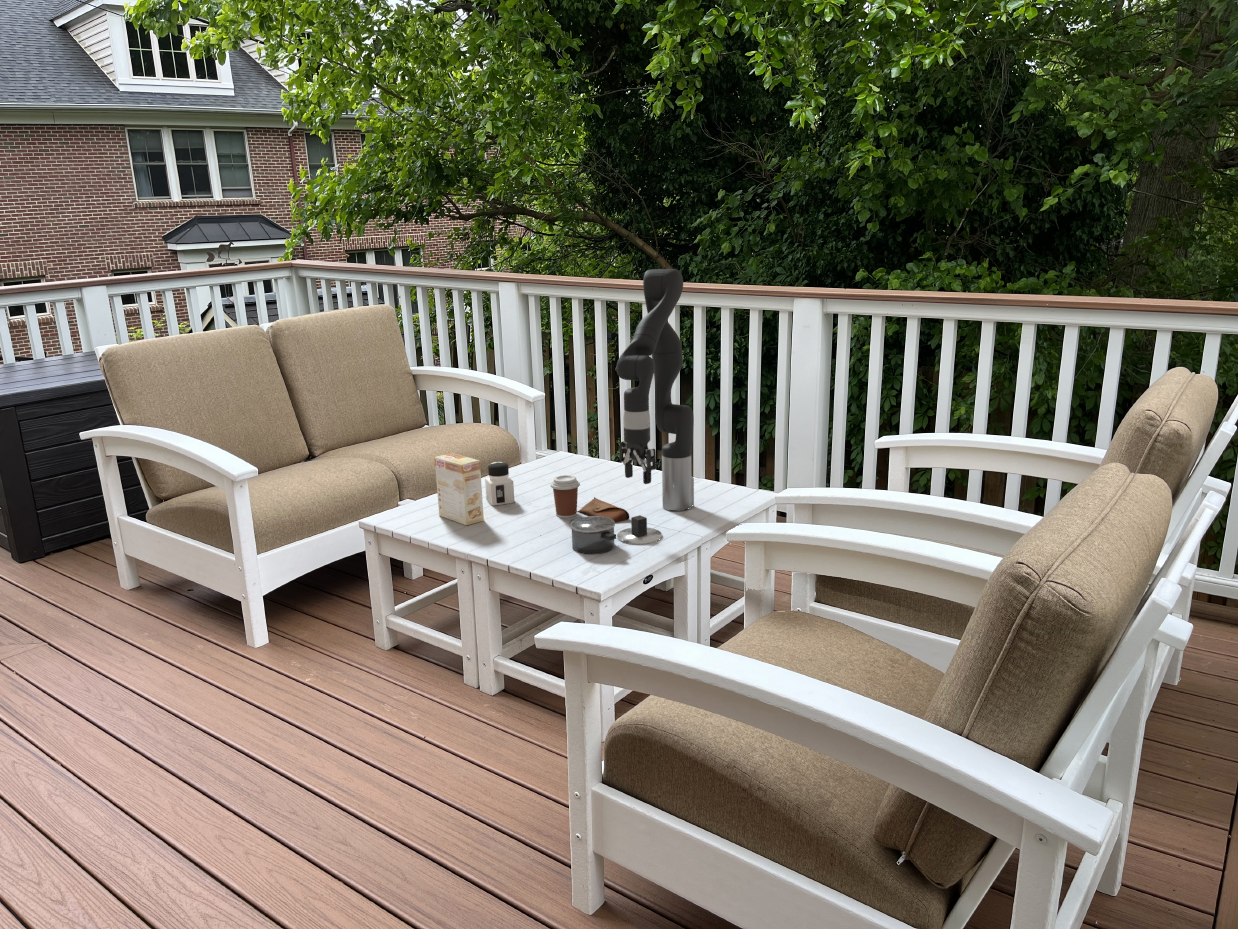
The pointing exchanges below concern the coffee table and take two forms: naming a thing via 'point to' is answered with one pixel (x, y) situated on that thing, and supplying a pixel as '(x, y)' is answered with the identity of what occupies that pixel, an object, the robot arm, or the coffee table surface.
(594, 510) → the sunglasses case
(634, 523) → the lid
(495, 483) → the container
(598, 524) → the pot
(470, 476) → the coffeecake box
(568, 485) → the coffee cup
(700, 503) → the coffee table surface
